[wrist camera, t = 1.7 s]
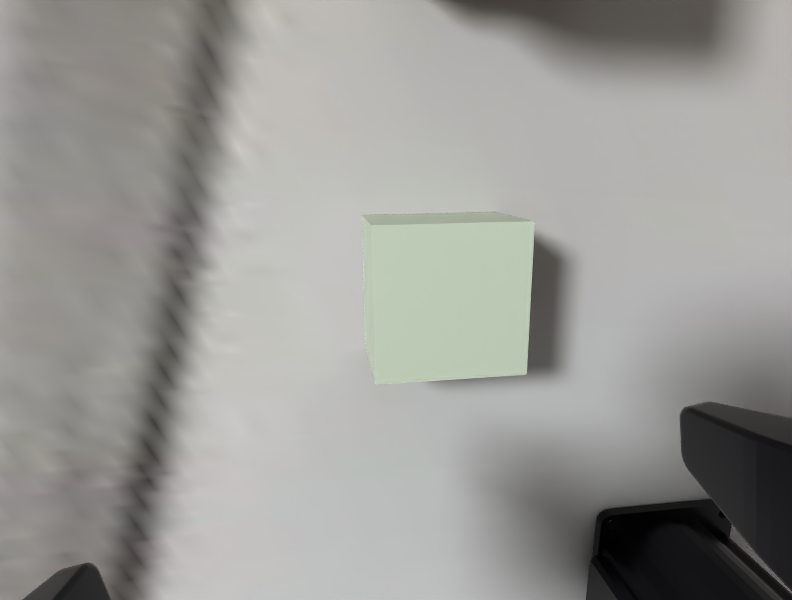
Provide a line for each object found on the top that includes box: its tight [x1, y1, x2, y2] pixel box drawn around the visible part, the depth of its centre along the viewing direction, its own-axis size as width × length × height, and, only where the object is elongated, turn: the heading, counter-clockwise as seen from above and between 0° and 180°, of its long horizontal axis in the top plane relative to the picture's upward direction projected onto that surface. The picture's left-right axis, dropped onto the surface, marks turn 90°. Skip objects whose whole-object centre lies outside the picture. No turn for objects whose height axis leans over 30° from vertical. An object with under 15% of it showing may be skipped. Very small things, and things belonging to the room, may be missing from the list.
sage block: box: [362, 212, 535, 385], centre depth 18 cm, size 5×5×4 cm
